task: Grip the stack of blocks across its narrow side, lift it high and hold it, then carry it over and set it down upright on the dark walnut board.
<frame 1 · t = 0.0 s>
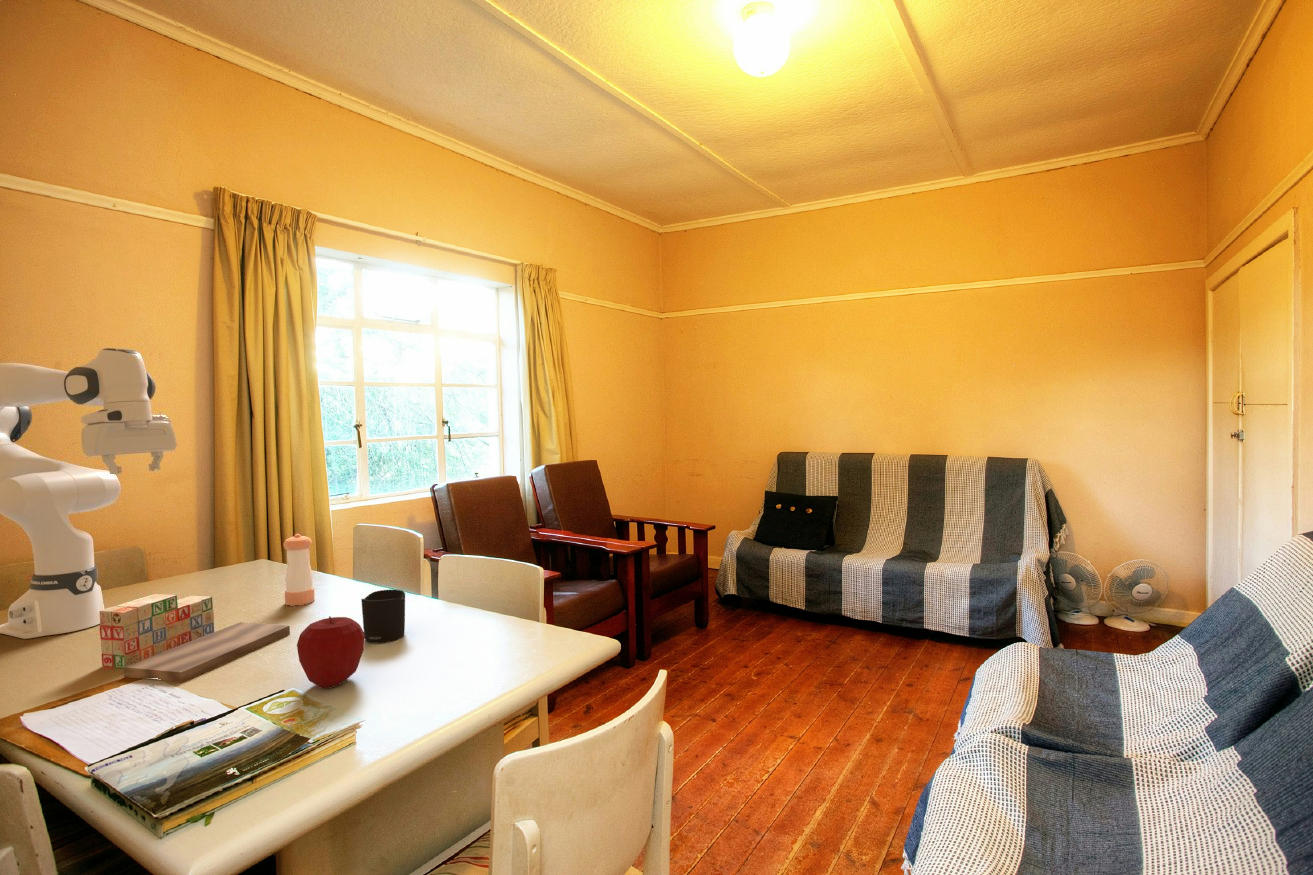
hand: (136, 472, 156), 39 cm above the table, tool pointing down, fingers open, 8 cm apart
walnut board: (214, 653, 143), on the table
pen holder: (384, 638, 152), on the table
stack of blocks: (162, 650, 146), on the table
apple: (333, 684, 126), on the table
pepper shaker: (299, 602, 181), on the table
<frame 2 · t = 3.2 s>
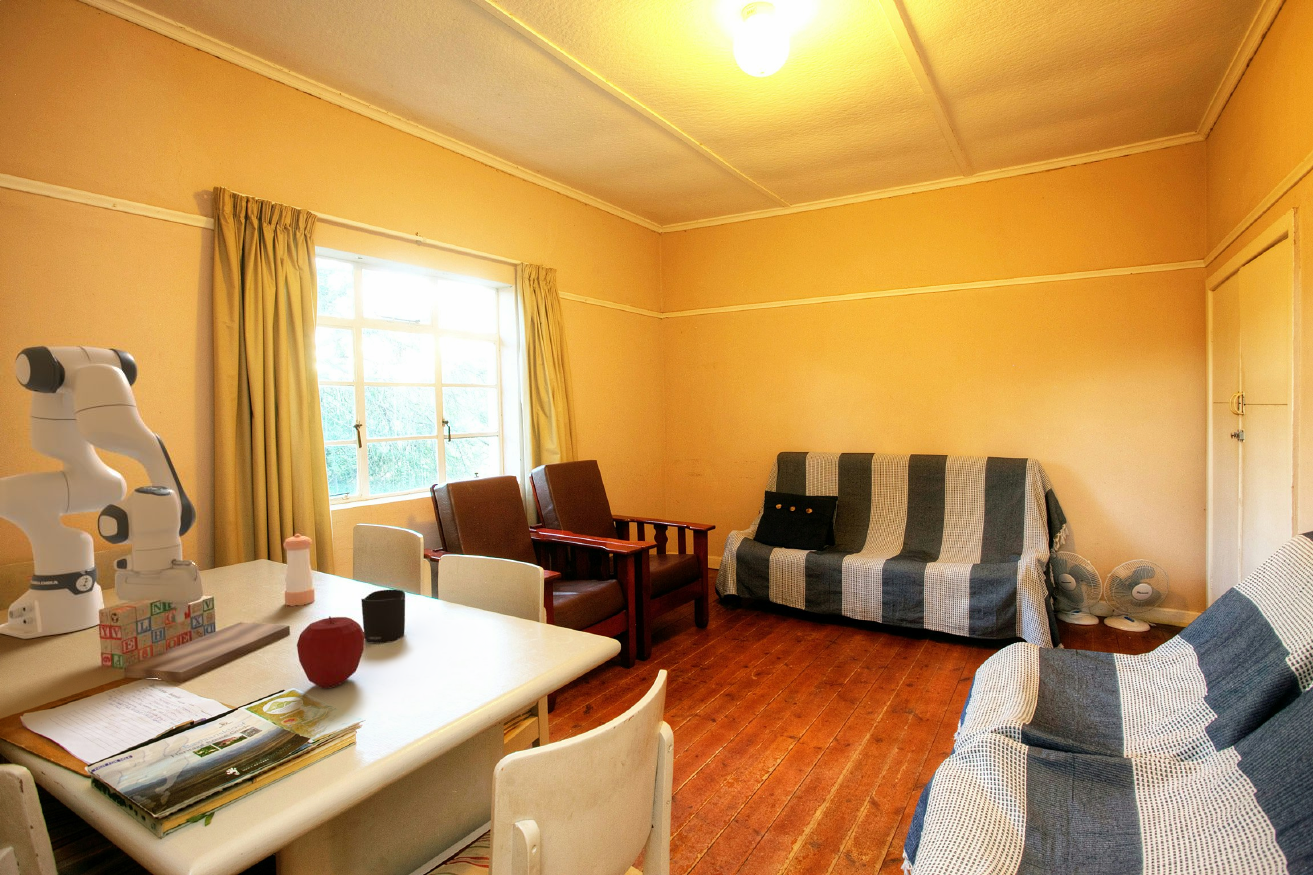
hand: (161, 620, 145), 7 cm above the table, tool pointing down, fingers open, 8 cm apart
nothing on the table moved.
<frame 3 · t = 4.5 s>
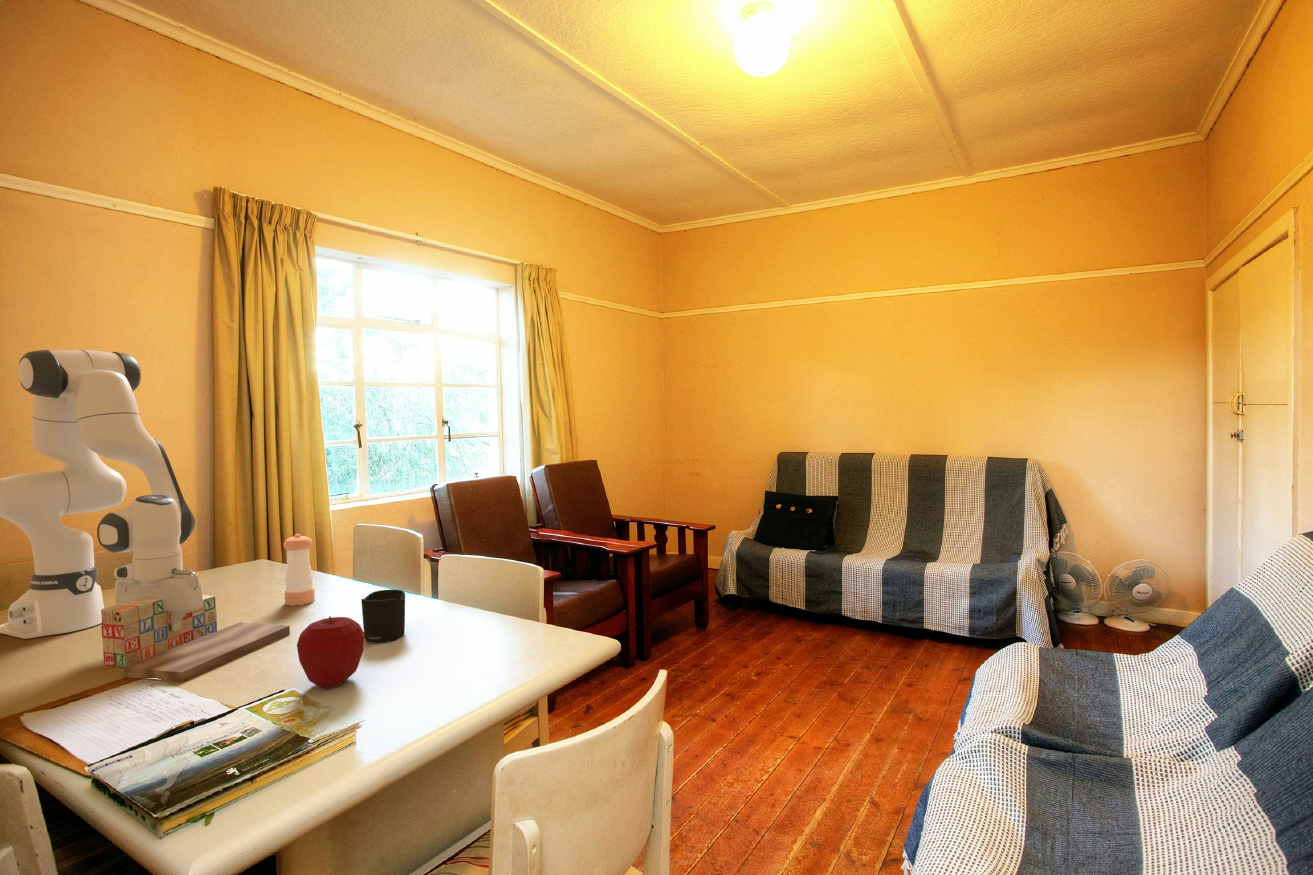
hand: (160, 629, 146), 5 cm above the table, tool pointing down, fingers closed on stack of blocks, 6 cm apart
stack of blocks: (164, 649, 146), on the table, touching gripper
everything else where it was.
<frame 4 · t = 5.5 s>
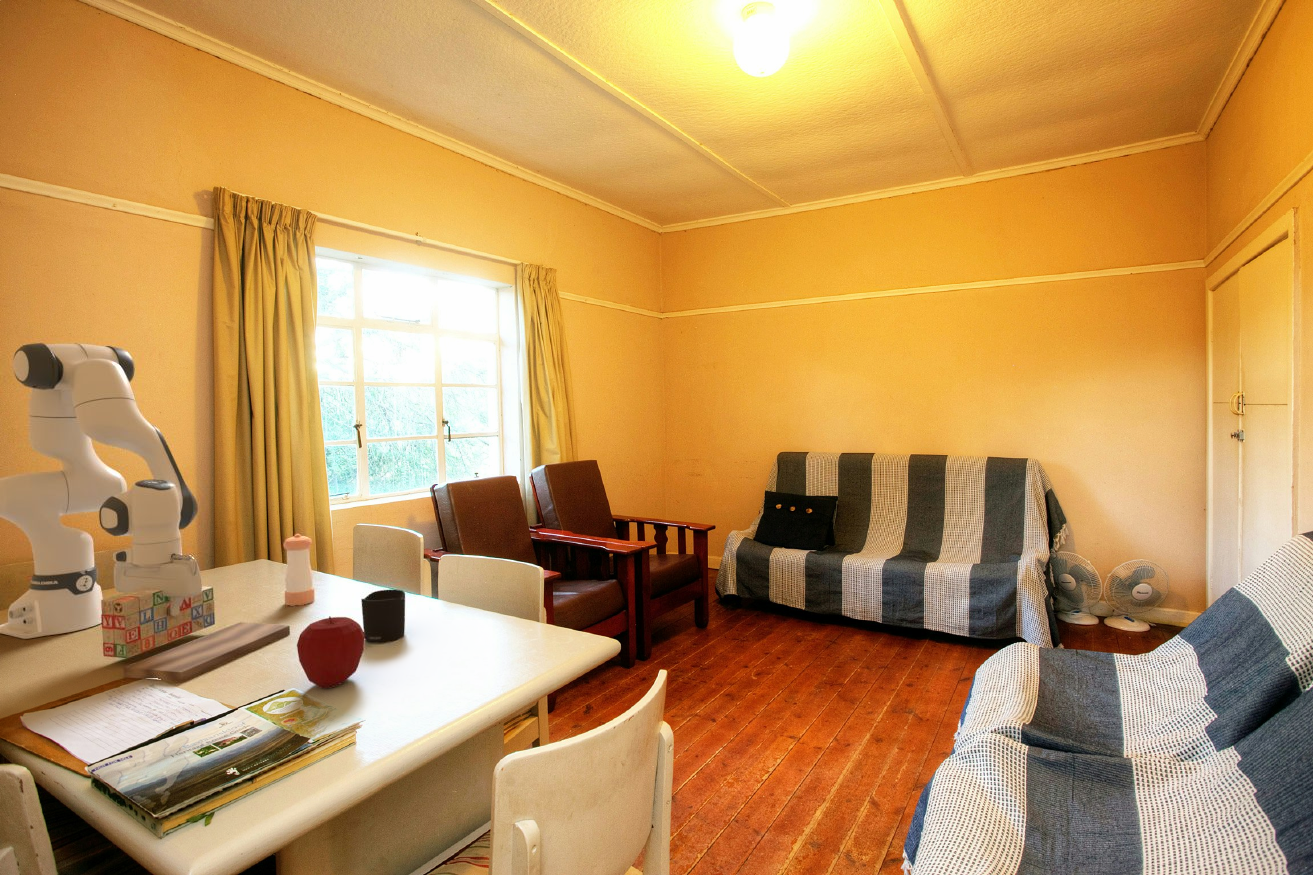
hand: (159, 613, 146), 8 cm above the table, tool pointing down, fingers closed on stack of blocks, 6 cm apart
stack of blocks: (162, 640, 147), point 2 cm above the table, touching gripper
everything else where it was.
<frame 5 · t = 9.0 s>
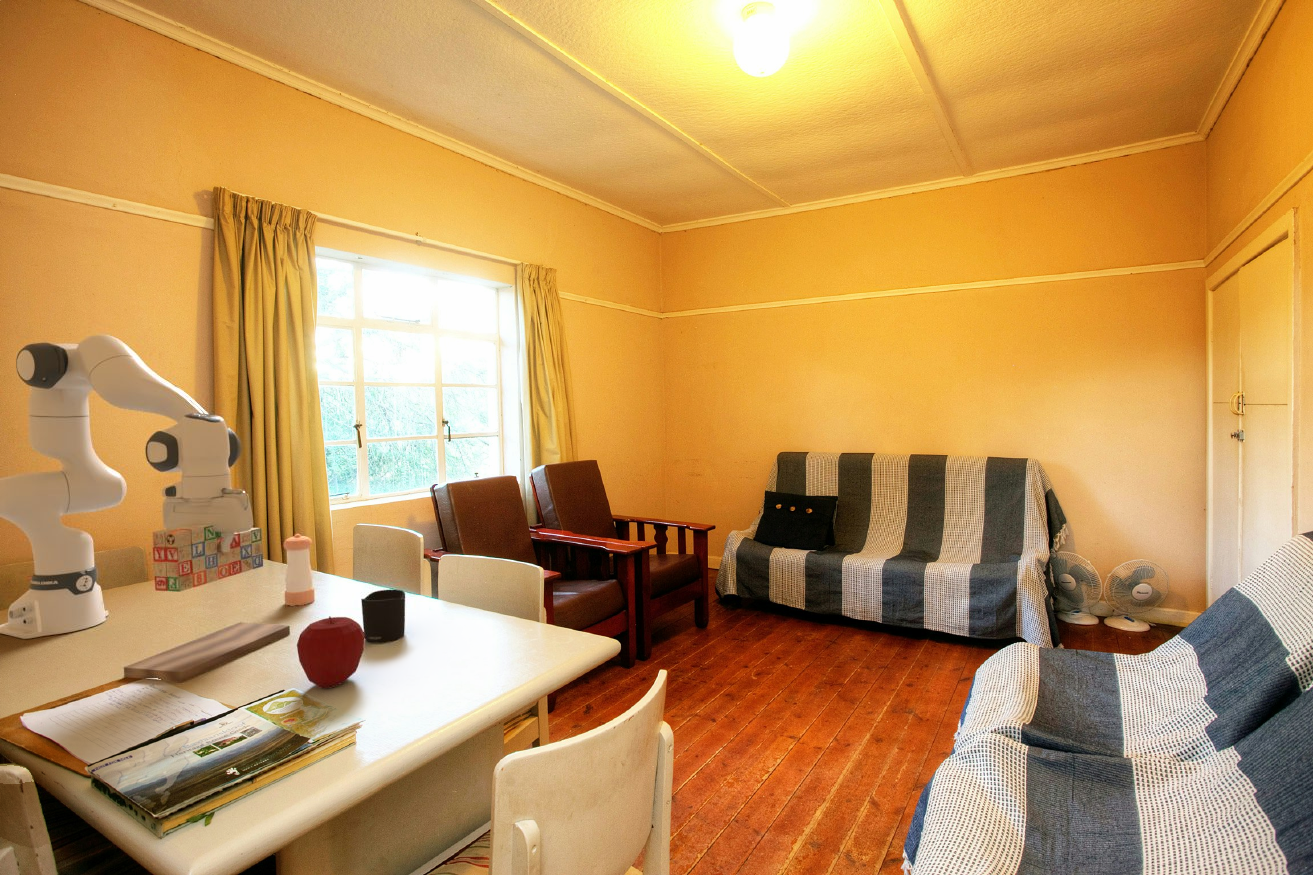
hand: (209, 551, 142), 23 cm above the table, tool pointing down, fingers closed on stack of blocks, 6 cm apart
stack of blocks: (212, 578, 143), point 16 cm above the table, touching gripper
everything else where it was.
when the fingers open (8 cm above the table, at t = 12.6 s): stack of blocks stays where it is, resting on walnut board.
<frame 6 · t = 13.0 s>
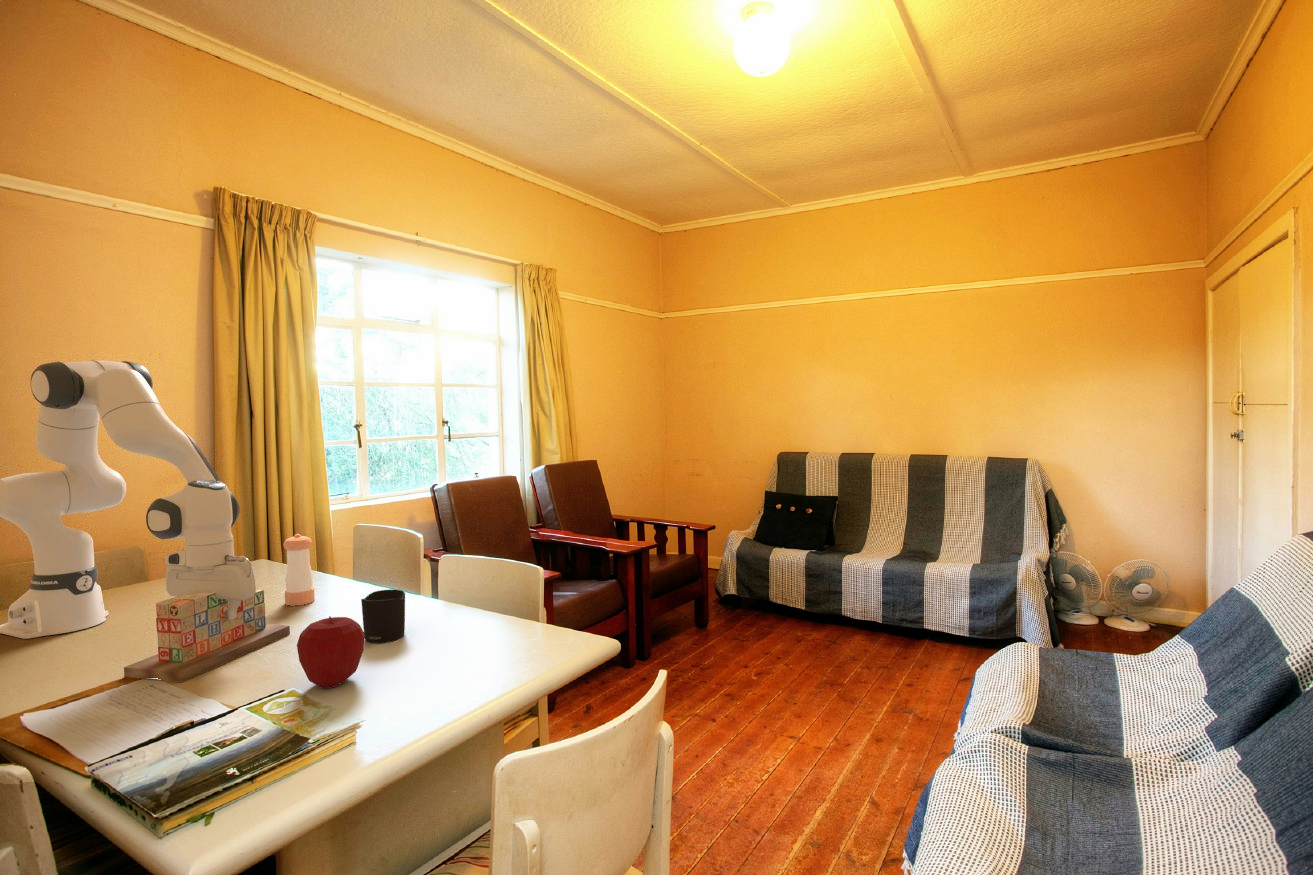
hand: (212, 617, 143), 8 cm above the table, tool pointing down, fingers open, 8 cm apart
stack of blocks: (215, 644, 143), point 2 cm above the table, touching walnut board
everything else where it was.
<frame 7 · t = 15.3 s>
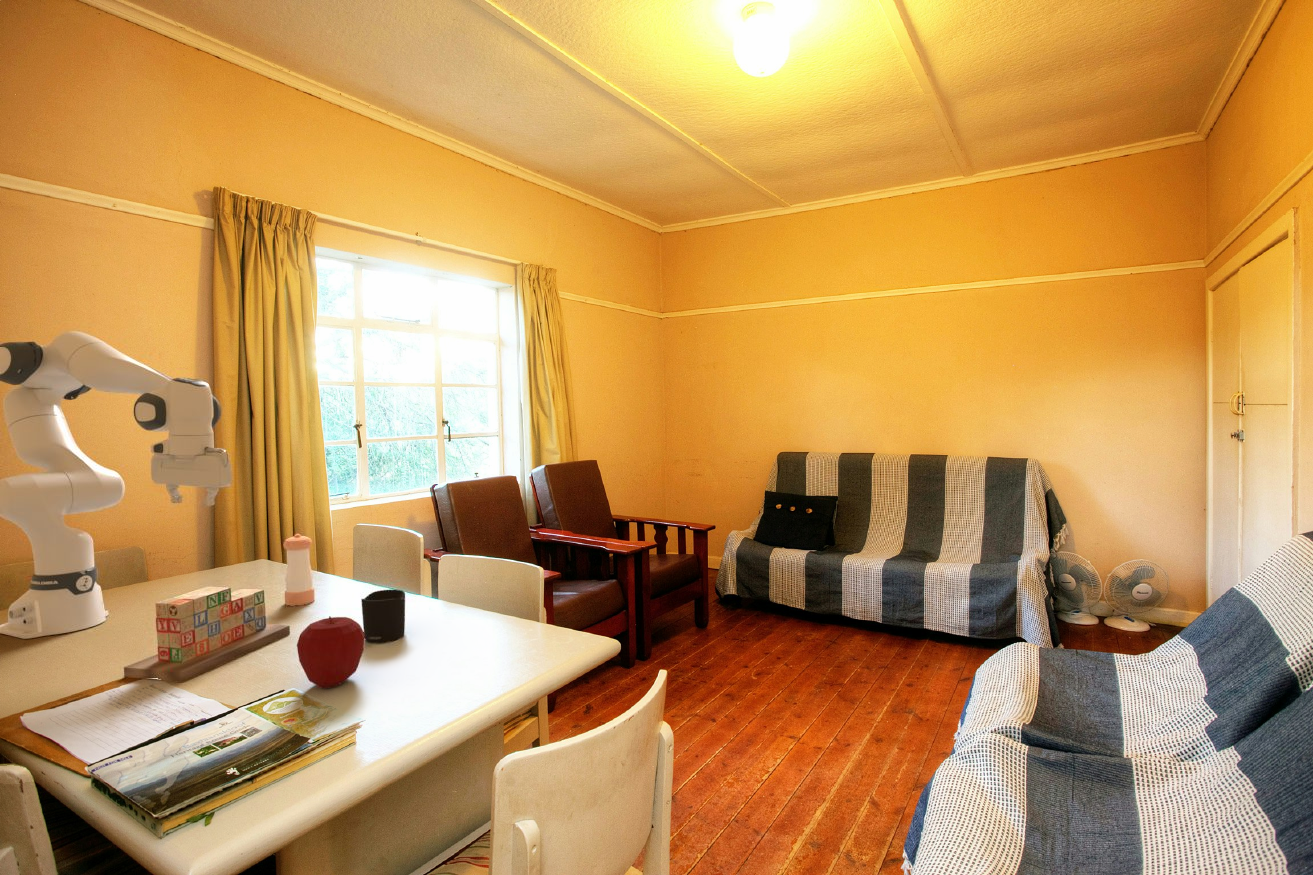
hand: (192, 504, 156), 31 cm above the table, tool pointing down, fingers open, 8 cm apart
nothing on the table moved.
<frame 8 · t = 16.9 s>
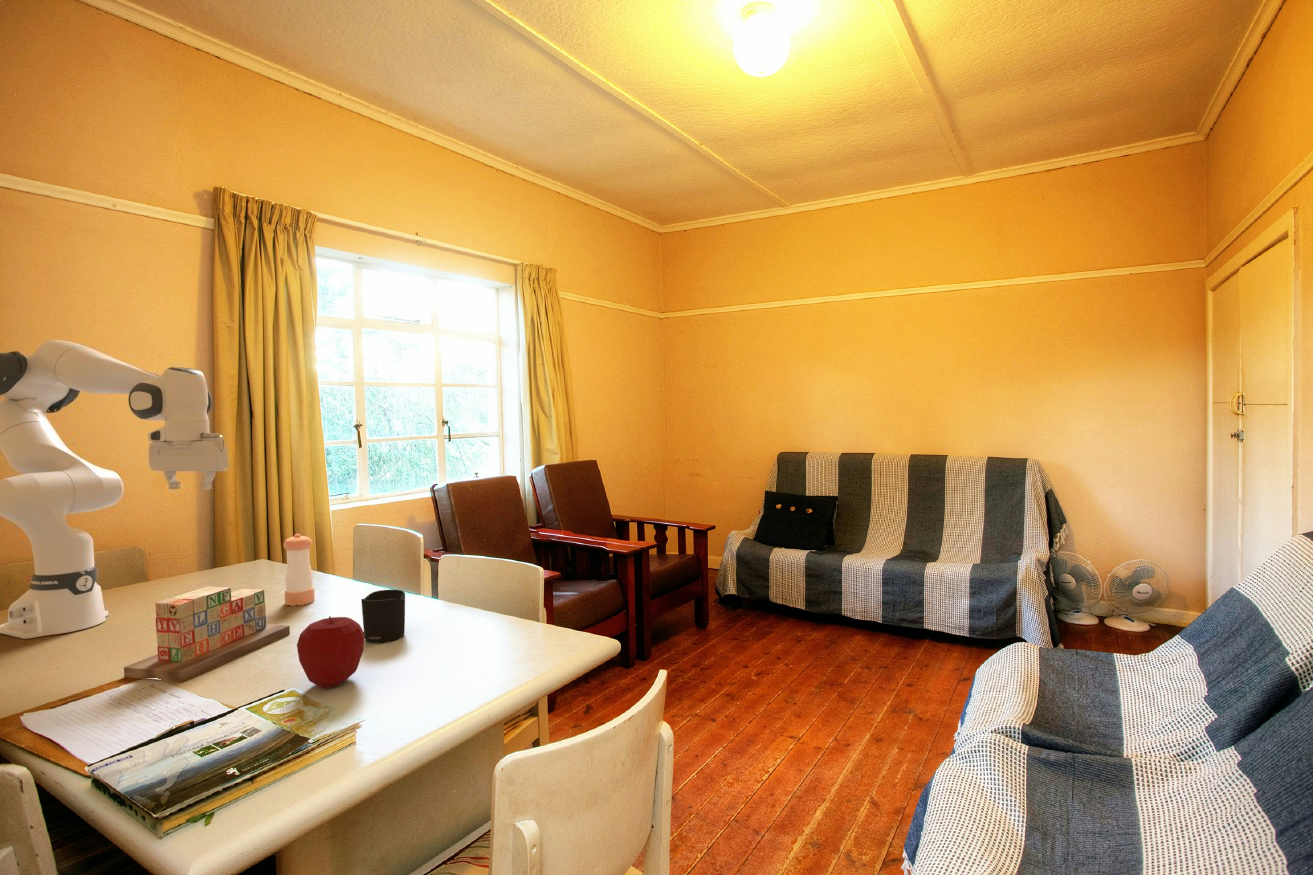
hand: (190, 489, 160), 34 cm above the table, tool pointing down, fingers open, 8 cm apart
nothing on the table moved.
at the end: stack of blocks inside the target area on the walnut board (0.7 cm from its centre), point 1.8 cm above the walnut board's base; stack of blocks tilted 0°; the gripper is holding nothing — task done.
